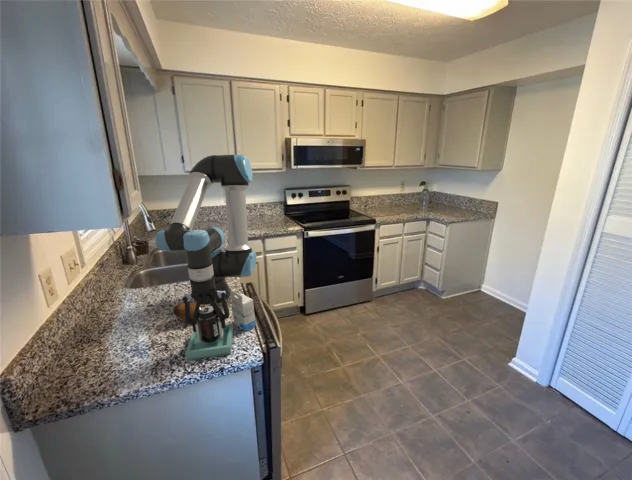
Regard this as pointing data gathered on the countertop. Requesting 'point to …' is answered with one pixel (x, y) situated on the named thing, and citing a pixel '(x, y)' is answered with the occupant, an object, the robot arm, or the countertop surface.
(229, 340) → the collection tray
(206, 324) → the beverage can
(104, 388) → the countertop surface
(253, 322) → the ink box
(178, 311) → the potato
